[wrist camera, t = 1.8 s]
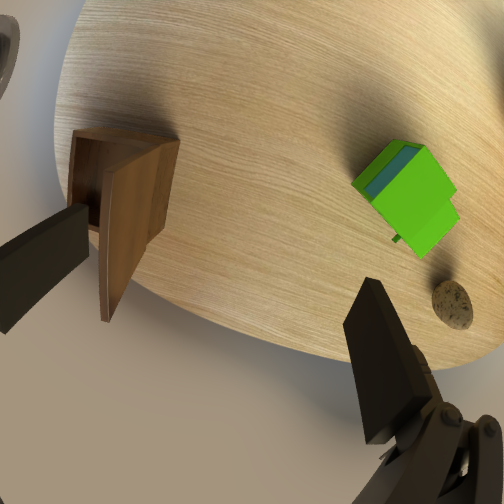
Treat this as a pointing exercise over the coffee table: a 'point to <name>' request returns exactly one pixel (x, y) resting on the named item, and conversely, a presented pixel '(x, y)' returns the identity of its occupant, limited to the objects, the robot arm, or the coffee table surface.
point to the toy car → (410, 194)
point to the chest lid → (124, 223)
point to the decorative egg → (453, 305)
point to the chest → (108, 154)
